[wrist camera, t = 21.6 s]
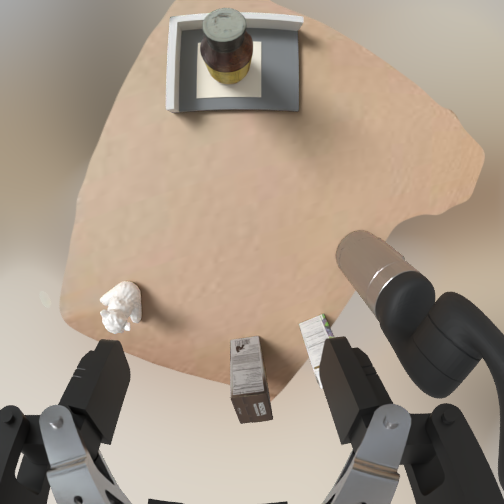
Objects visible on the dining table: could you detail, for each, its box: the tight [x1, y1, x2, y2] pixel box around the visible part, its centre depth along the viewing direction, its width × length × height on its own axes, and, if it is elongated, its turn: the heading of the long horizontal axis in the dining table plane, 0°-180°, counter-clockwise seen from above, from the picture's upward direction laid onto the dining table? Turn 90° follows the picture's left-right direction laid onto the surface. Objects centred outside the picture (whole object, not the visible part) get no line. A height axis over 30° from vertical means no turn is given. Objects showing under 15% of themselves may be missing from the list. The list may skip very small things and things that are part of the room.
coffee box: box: [230, 336, 273, 424], centre depth 51 cm, size 9×6×16 cm
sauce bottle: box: [200, 8, 253, 84], centre depth 27 cm, size 7×6×20 cm
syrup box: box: [299, 314, 334, 389], centre depth 51 cm, size 6×6×14 cm
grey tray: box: [166, 12, 303, 113], centre depth 35 cm, size 20×16×5 cm
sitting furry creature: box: [100, 281, 142, 334], centre depth 46 cm, size 10×9×12 cm
